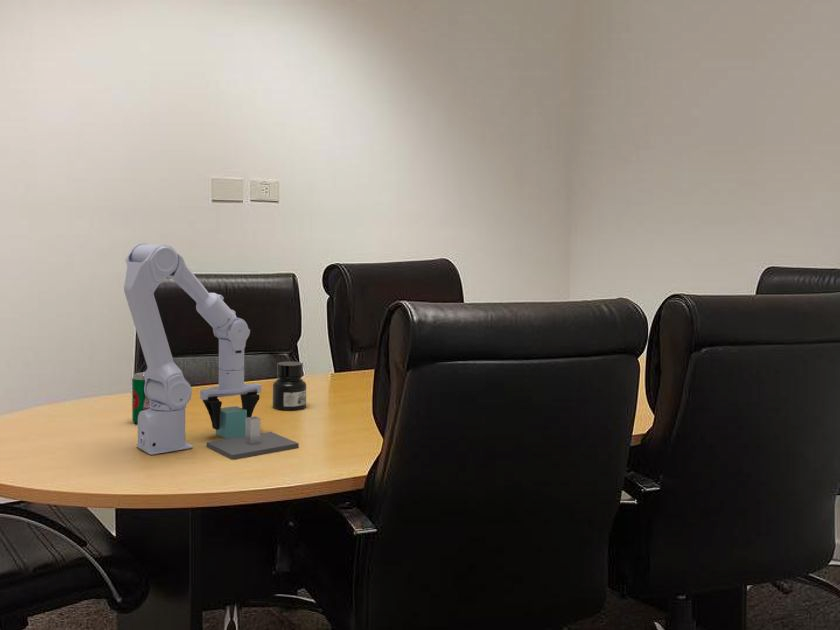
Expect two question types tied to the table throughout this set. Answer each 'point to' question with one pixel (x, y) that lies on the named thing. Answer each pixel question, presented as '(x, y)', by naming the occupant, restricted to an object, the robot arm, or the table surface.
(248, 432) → the pin stand
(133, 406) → the soda can
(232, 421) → the teal square block
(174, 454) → the table surface
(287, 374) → the ink bottle
